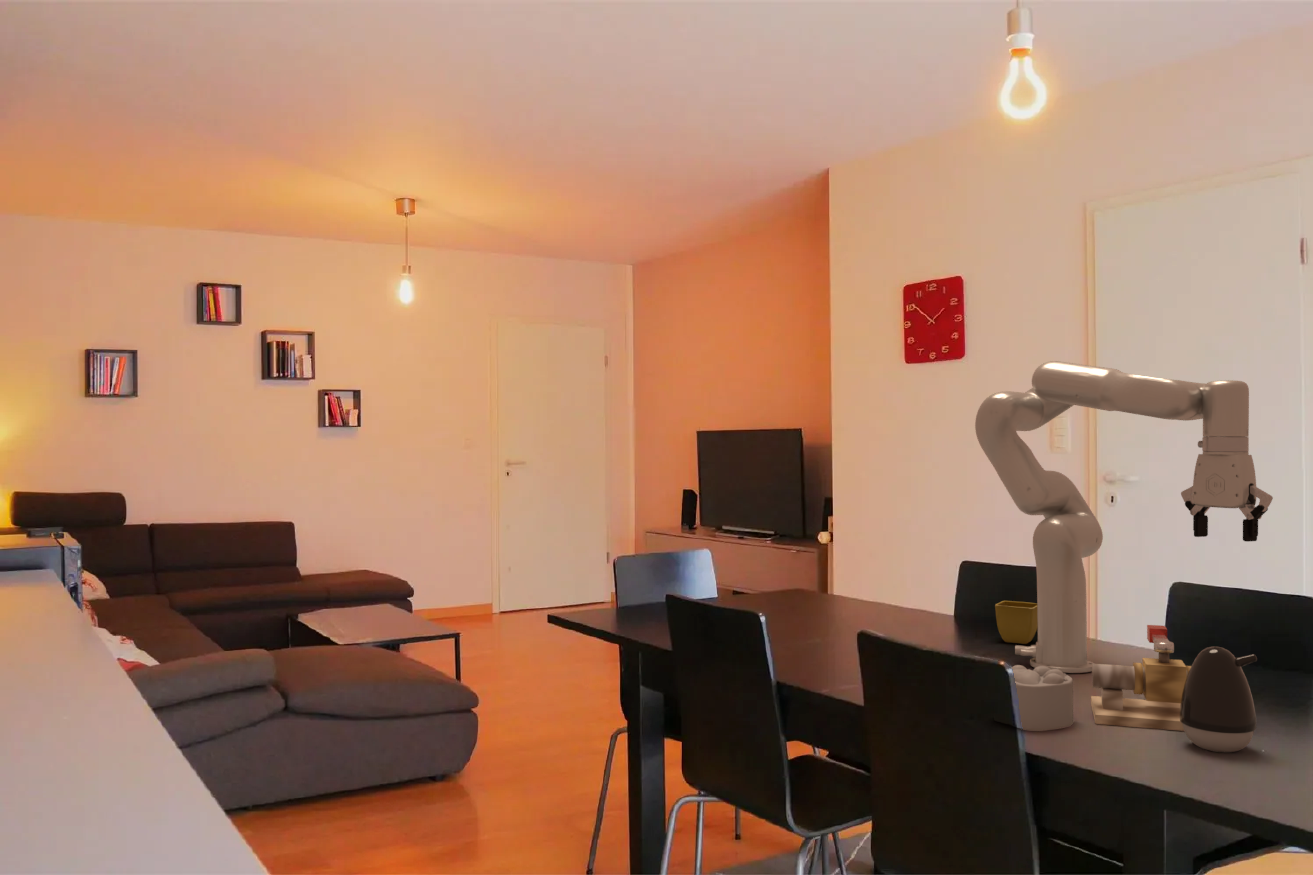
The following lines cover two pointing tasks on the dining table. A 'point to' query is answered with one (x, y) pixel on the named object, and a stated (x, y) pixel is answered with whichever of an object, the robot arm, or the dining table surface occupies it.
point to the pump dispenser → (1218, 702)
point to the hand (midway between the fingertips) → (1224, 538)
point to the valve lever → (1159, 639)
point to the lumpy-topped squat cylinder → (1044, 698)
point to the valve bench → (1152, 680)
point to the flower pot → (1016, 621)
